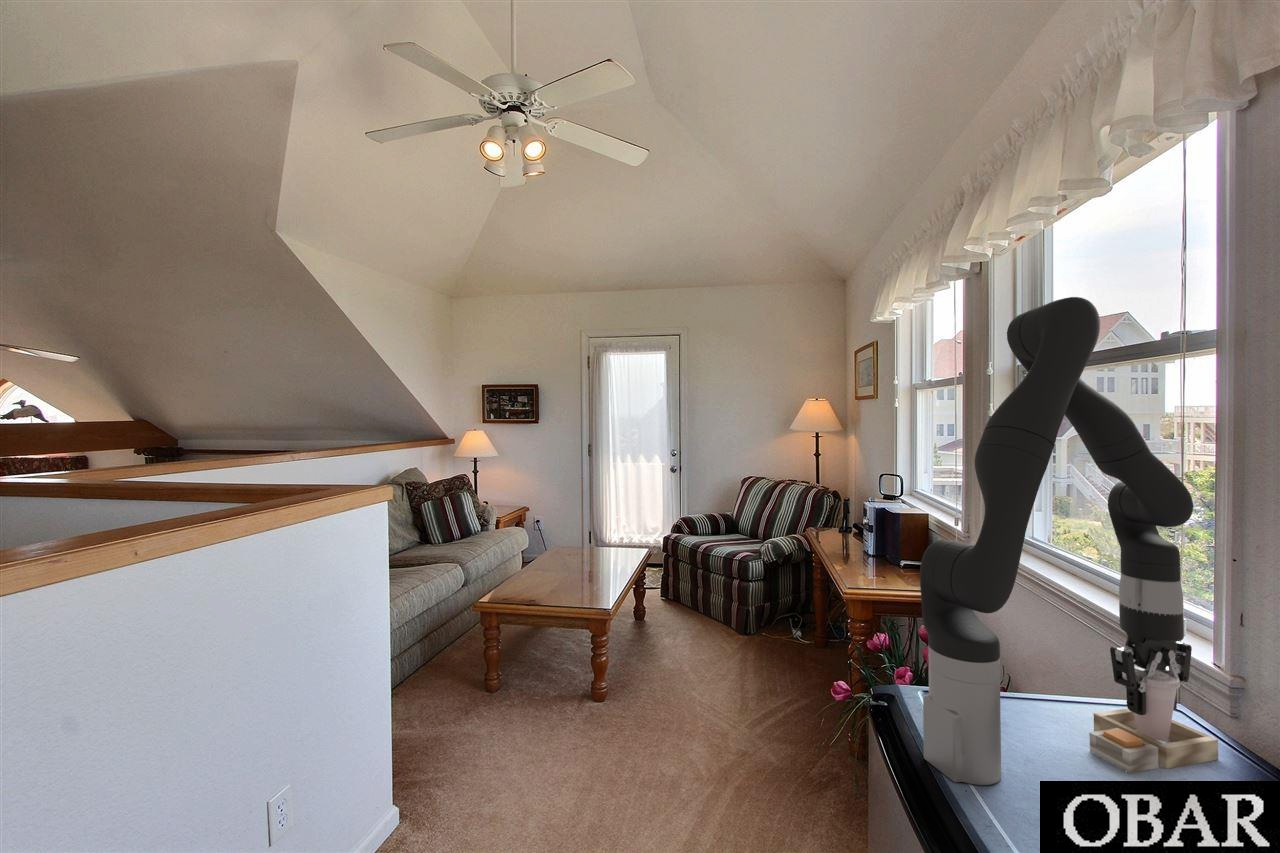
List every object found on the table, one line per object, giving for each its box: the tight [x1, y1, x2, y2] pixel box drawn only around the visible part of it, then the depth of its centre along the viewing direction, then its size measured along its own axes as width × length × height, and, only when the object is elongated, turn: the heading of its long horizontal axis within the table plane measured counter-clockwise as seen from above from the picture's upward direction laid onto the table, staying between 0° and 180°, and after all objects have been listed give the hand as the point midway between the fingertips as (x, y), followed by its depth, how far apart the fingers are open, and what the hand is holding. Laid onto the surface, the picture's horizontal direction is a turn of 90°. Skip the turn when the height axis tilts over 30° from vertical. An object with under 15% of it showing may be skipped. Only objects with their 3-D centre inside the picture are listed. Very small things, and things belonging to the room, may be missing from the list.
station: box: [1089, 707, 1219, 774], centre depth 86 cm, size 17×10×3 cm, turn 103°
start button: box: [1104, 729, 1143, 748], centre depth 83 cm, size 3×3×2 cm
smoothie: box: [1134, 665, 1181, 742], centre depth 87 cm, size 6×6×14 cm
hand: (1152, 710), depth 87 cm, fingers closed on smoothie, 5 cm apart
